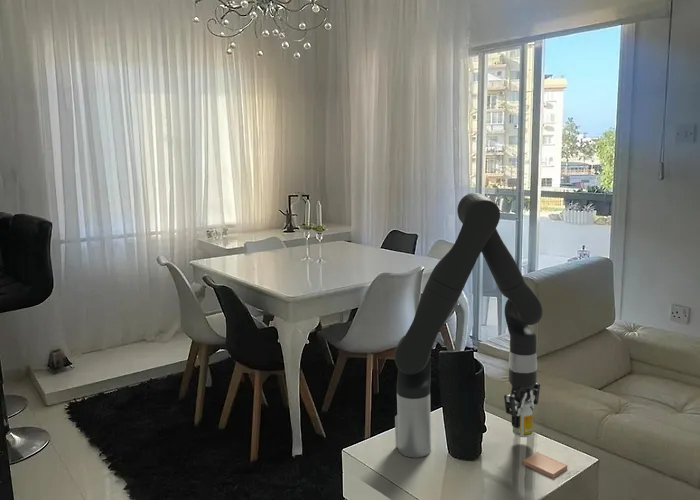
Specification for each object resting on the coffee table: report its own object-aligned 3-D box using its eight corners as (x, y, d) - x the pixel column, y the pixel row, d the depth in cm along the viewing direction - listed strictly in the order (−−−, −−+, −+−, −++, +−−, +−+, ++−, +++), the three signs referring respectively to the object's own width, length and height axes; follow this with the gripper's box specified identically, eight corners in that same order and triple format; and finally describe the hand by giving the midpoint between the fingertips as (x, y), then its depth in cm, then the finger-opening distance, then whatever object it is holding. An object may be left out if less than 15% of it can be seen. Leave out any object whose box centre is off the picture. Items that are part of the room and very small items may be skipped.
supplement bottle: (511, 436, 162) (512, 404, 161) (513, 427, 167) (513, 396, 166) (532, 439, 160) (532, 406, 159) (532, 430, 165) (533, 398, 164)
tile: (523, 460, 154) (553, 474, 147) (537, 451, 158) (567, 464, 151) (522, 465, 154) (553, 479, 147) (537, 456, 158) (567, 470, 151)
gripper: (526, 356, 168) (525, 411, 171) (495, 369, 159) (495, 427, 162) (549, 363, 162) (548, 419, 165) (518, 377, 153) (518, 436, 156)
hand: (522, 423), depth 163 cm, fingers closed on supplement bottle, 5 cm apart
